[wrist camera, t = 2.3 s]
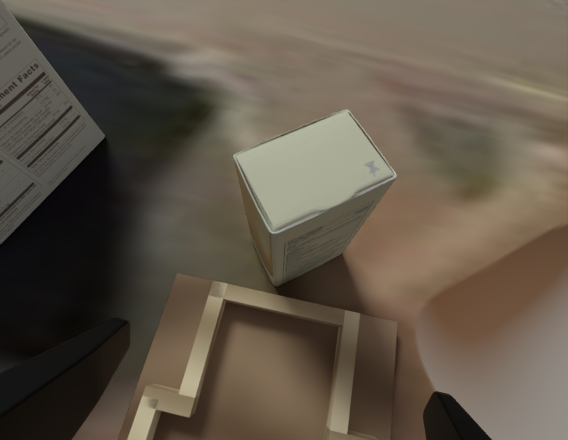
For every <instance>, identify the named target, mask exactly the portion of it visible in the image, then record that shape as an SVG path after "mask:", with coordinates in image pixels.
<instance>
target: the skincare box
mask: <svg viewBox="0 0 568 440" xmlns="http://www.w3.org/2000/svg"><path fill="white" fill-rule="evenodd" d="M233 158H234V163H235V167H236V171H237V175H238V179H239V184H240V188H241V193H242V197H243V202H244V206H245V210H246V215H247V219H248V223H249V228H250V232H251V237H252V241H253V243H254V246H255V248H256V250H257V253H258V255H259V257H260V259H261V261H262V263H263V266H264V268H265V270H266V272H267V274H268V276H269V278H270V280H271V282H272V284H273V285H274V286H276V287H277V286H279V285H282V284H284V283H286V282H288V281H290V280H292V279H294V278H296V277H298V276H301V275H303V274H305V273H307V272H308V271H310V270H312V269H314V268H316V267H318V266H320V265H322V264H324V263H326V262H328V261H329V260H331V259H333V258H335V257H337V256H338V255H340V254H342V253H343V251H344V250H345V249H346V247H347V246H348V244H349V243H350V242H351V240H352V239H353V237H354V236H355V235H356V233H357V232H358V230H359V229H360V228H361V226H362V225H363V223H364V222H365V221H366V219H367V218H368V217H369V215H370V214H371V212H372V211H373V210H374V208H375V207H376V205H377V204H378V203H379V201H380V200H381V198H382V197H383V196H384V194H385V193H386V191H387V190H388V189H389V187H390V186H391V184H392V183H393V182H394V180H395V179H396V177H397V175H396V173H395V172H394V170H393V169H392V168H391V166H390V165H389V164H388V162H387V161H386V159H385V158H384V156H383V155H382V154H381V152H380V151H379V149H378V148H377V147H376V145H375V144H374V143H373V141H372V140H371V138H370V137H369V135H368V134H367V133H366V131H365V130H364V129H363V127H362V126H361V125H360V124H359V122H358V121H357V120H356V119H355V118H354V116H353V115H352V114H351V112H350V111H349V110H342V111H340V112H337V113H333V114H331V115H328V116H325V117H322V118H320V119H317V120H315V121H312V122H309V123H307V124H304V125H302V126H300V127H297V128H294V129H292V130H289V131H287V132H285V133H282V134H280V135H277V136H275V137H273V138H270V139H268V140H265V141H263V142H261V143H259V144H257V145H254V146H252V147H250V148H247V149H245V150H243V151H240V152H238V153H236V154H234V156H233Z"/></svg>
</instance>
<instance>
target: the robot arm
mask: <svg viewBox="0 0 568 440" xmlns="http://www.w3.org/2000/svg"><path fill="white" fill-rule="evenodd" d="M129 345H130V323H129V321H127V320H124V319H119V318H114V319H111V320H109V321H107V322H105V323H103V324H101V325H99V326H97V327H95V328H93V329H91V330H88V331H86V332H84V333H82V334H80V335H78V336H76V337H74V338H72V339H70V340H68V341H66V342H64V343H62V344H60V345H58V346H55V347H53V348H51V349H49V350H47V351H45V352H43V353H41V354H39V355H37V356H35V357H33V358H31V359H29V360H27V361H24V362H22V363H20V364H18V365H16V366H14V367H12V368H10V369H8V370H6V371H4V372H2V373H0V440H72V438H73V437H74V435H75V434H76V433H77V431H78V430H79V428H80V427H81V425H82V424H83V423H84V421H85V420H86V418H87V417H88V415H89V414H90V413H91V411H92V410H93V408H94V407H95V405H96V404H97V402H98V401H99V399H100V397H101V396H102V394H103V392H104V391H105V389H106V387H107V385H108V384H109V382H110V380H111V378H112V377H113V375H114V373H115V371H116V370H117V368H118V366H119V364H120V363H121V361H122V359H123V357H124V355H125V354H126V352H127V350H128V348H129ZM423 420H424V427H425V434H426V440H492V439H491V438H490V437H489V436H488V435H487V434H486V433H485V432H484V431H483V430H482V429H481V427H480V426H479V425H478V424H477V423H476V422H475V421H474V420H473V419H472V418H471V416H470V415H469V414H468V413H467V412H466V411H465V410H464V409H463V408H462V407H461V406H460V404H459V403H458V402H457V401H456V400H455V399H454V398H453V397H452V396H451V395H449V394H446V393H442V392H438V391H435V392H434V393H433V394H432V396H431V398H430V399H429V401H428V403H427V405H426V407H425V409H424V413H423Z"/></svg>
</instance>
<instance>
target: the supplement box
mask: <svg viewBox="0 0 568 440" xmlns="http://www.w3.org/2000/svg"><path fill="white" fill-rule="evenodd" d="M104 137H105V135H104V134H103V133H102V131H101V130H100V129H99V127H98V126H97V125H96V124H95V122H94V121H93V120H92V118H91V117H90V116H89V115H88V113H87V112H86V111H85V109H84V108H83V107H82V105H81V104H80V103H79V102H78V100H77V99H76V98H75V96H74V95H73V94H72V93H71V91H70V90H69V89H68V87H67V86H66V85H65V83H64V82H63V81H62V79H61V78H60V77H59V75H58V74H57V73H56V72H55V70H54V69H53V68H52V66H51V65H50V64H49V62H48V61H47V60H46V58H45V57H44V56H43V54H42V53H41V52H40V51H39V49H38V48H37V47H36V45H35V44H34V43H33V41H32V40H31V39H30V37H29V36H28V35H27V34H26V32H25V31H24V30H23V28H22V27H21V26H20V24H19V23H18V22H17V20H16V19H15V18H14V16H13V15H12V14H11V12H10V11H9V10H8V8H7V7H6V6H5V5H4V3H3V2H2V1H1V0H0V244H1V243H2V242H3V241H4V240H5V239H6V238H7V237H8V236H9V235H10V234H11V233H12V232H13V231H14V230H15V229H16V228H17V227H18V226H19V225H20V224H21V223H22V222H23V221H24V220H25V219H26V218H27V217H28V216H29V215H30V214H31V213H32V212H33V211H34V210H35V209H36V208H37V207H38V206H39V205H40V204H41V203H42V202H43V201H44V200H45V198H46V197H47V196H48V195H49V194H50V193H51V192H52V191H53V190H54V189H55V188H56V187H57V186H58V185H59V184H60V183H61V182H62V181H63V180H64V179H65V178H66V177H67V176H68V175H69V174H70V173H71V172H72V171H73V170H74V169H75V168H76V167H77V166H78V165H79V164H80V163H81V162H82V160H83V159H84V158H85V157H86V156H87V155H88V154H89V153H90V152H91V151H92V150H93V149H94V148H95V147H96V146H97V145H98V144H99V143H100V142H101V141H102V140H103V139H104Z"/></svg>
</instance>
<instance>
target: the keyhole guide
mask: <svg viewBox="0 0 568 440" xmlns="http://www.w3.org/2000/svg"><path fill="white" fill-rule="evenodd" d="M396 339H397V322H395V321H391V320H386V319H382V318H377V317H373V316H368V315H364V314H360V313H356V312H352V311H347V310H343V309H338V308H334V307H329V306H325V305H320V304H316V303H311V302H307V301H302V300H298V299H293V298H289V297H284V296H280V295H275V294H271V293H267V292H262V291H258V290H253V289H249V288H244V287H240V286H235V285H231V284H226V283H222V282H217V281H211V280H206V279H202V278H197V277H193V276H188V275H184V274H179V273H177V274H176V277H175V280H174V283H173V285H172V288H171V291H170V294H169V297H168V299H167V302H166V305H165V308H164V311H163V313H162V316H161V319H160V322H159V325H158V327H157V330H156V333H155V336H154V339H153V342H152V344H151V347H150V350H149V353H148V356H147V358H146V361H145V364H144V367H143V370H142V372H141V375H140V378H139V381H138V384H137V387H136V389H135V392H134V395H133V398H132V401H131V403H130V406H129V409H128V412H127V415H126V417H125V420H124V423H123V426H122V429H121V431H120V434H119V437H118V440H390V438H391V422H392V405H393V389H394V372H395V356H396Z"/></svg>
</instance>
